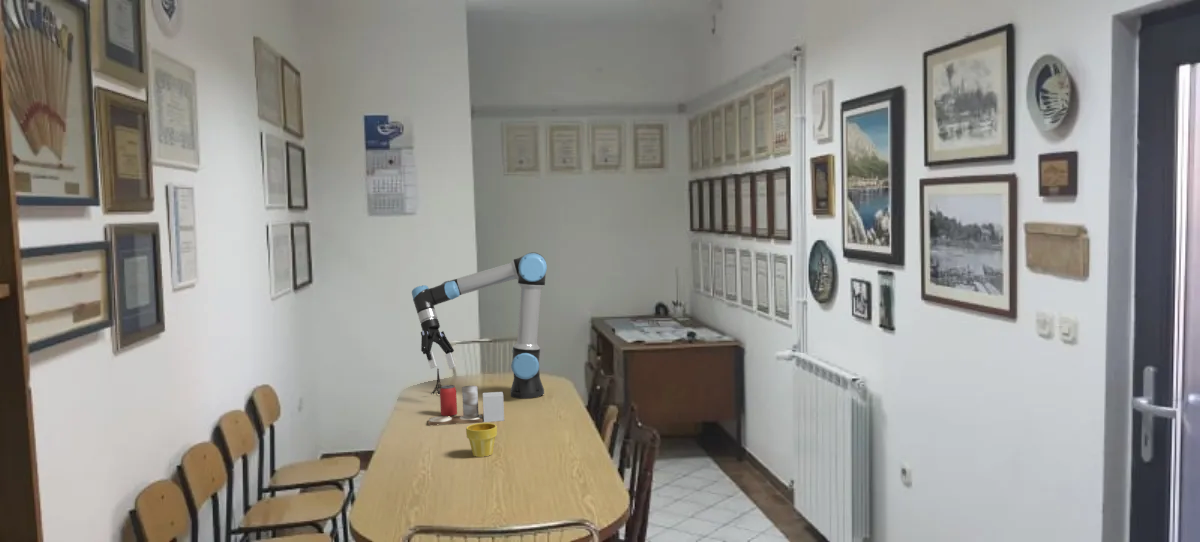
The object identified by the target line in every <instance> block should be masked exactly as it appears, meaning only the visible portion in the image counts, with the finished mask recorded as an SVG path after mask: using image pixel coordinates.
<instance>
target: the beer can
mask: <svg viewBox="0 0 1200 542" xmlns="http://www.w3.org/2000/svg"><path fill="white" fill-rule="evenodd" d="M457 400H458V399H457V389H456V387H455V385H453V384H447V385H441V390H440V396H439V403H440V404H439V405H440V416H454V415H455V416H457V414H458V406H457V405H458V402H457Z"/></svg>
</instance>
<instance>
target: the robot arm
mask: <svg viewBox="0 0 1200 542" xmlns="http://www.w3.org/2000/svg"><path fill="white" fill-rule="evenodd" d="M547 268H548V265H547V262H546V259H545V257H544V256H543V255H542V254H540V253H538V252H528V253H526V254H524V255H522V256H519V257H518V258H514V259H512V261H511V262H510V263H509V262H508V263H506V264H502V265H498V266H495V267H492V268H489V269H485V270H481V271H478V272H474V273H472V274H469V275H465V276H460V277H458V278H454V279H451V280H445V281H443V282H442V283H441V284H438V285H436V286H433V287H430V288H429V286H428V285H419V286H416V287H414V288H413V289H412V290H411V296H412V301H413V303H414V306H415V310H416V313H417V316H418V319H419V324H420V326H421V330H422V331H420V336H421V346H420V348H421V349H420V351H421V352H422V354H423V355H426V359H427V361H428V364H429V368H430V370H431V369H435V368H436V367H438V366H437V363H436V359H435V356H434V352H433V351H431V350H432V347H433V343H436V345H439V347H440V348H441V350H442V351H443V352H444V353H445V355H444V356H445V359H446V362H447V366H448V369H449V370H452V369H453V368H456V363H455V361H454V357H453V355H452V353H454V351H455V350H454V348H453V346H452V344H451V343H450V341H449V340H448V339H447V336H446V334H445V332H444V331H443V330H442V331H439V329H440V328H441V325H440V321H439V319H438V315H437V312H436V309H435V306H437V305H439V304H442V303H445V302H448V301H451V300H454V299H456V298H459V297H460V296H461V295H465V294H469V293H472V292H475V291H478V290H479V291H480V290H483V289H486V288H489V287H493V286H496V285H500V284H502V283H507V282H511V281H513V280H517V284H518V285H519V287H520V298H519V299H520V301H519V313H518V314H519V315H518V328H517V337H516V338H517V341H516V343H515V344H514V345H513V347H512V350H511V353H512V360H511V363H510V364H511V365H510V368H511V371H512V373H513V380H512V384H511V388H510V397H511V398H515V399H533V397H535V398H539V397H538V396H540V397H542V396H541V395H543V394H544V395H545V389H544V386H543V383H542V380H541V378H540V377H541V376H540V353H541V346H539V344H538V337H539V336H538V334H539V322H540V320H539V319H540V310H541V309H540V307H541V293H542V288H544V287H545V286H546V275H547ZM544 395H543V396H544Z"/></svg>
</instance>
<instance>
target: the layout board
mask: <svg viewBox="0 0 1200 542" xmlns="http://www.w3.org/2000/svg"><path fill="white" fill-rule="evenodd" d="M478 391H479V390H478V386H477V385H465V386H463V387H461V394H462V414H463V415H455V416H450V417H448V416H442V415H440V416H434V417H429V418H428V422H427V424H428V425H433V426H438V425H437V424H448V425H457V424H456V423H463V424H478V423H484V418H483V414H479V396H478V395H479V394H478Z"/></svg>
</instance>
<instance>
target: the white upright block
mask: <svg viewBox="0 0 1200 542" xmlns="http://www.w3.org/2000/svg"><path fill="white" fill-rule="evenodd" d="M504 401H505V400H504V393H503V391H493V392H492V391H491V392H483V393H482V407H483V423H492V422H504V421H505V407H504V406H505V405H504Z"/></svg>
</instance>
